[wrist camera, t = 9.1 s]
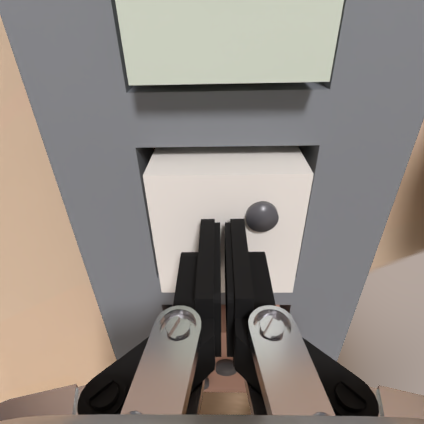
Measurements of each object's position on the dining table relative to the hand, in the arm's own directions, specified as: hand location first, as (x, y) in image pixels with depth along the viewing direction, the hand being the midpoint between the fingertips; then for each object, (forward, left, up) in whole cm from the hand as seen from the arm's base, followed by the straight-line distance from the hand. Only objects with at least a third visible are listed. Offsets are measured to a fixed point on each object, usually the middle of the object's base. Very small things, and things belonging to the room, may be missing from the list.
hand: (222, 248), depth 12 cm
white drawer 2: (0, 0, -4) cm, 4 cm away
